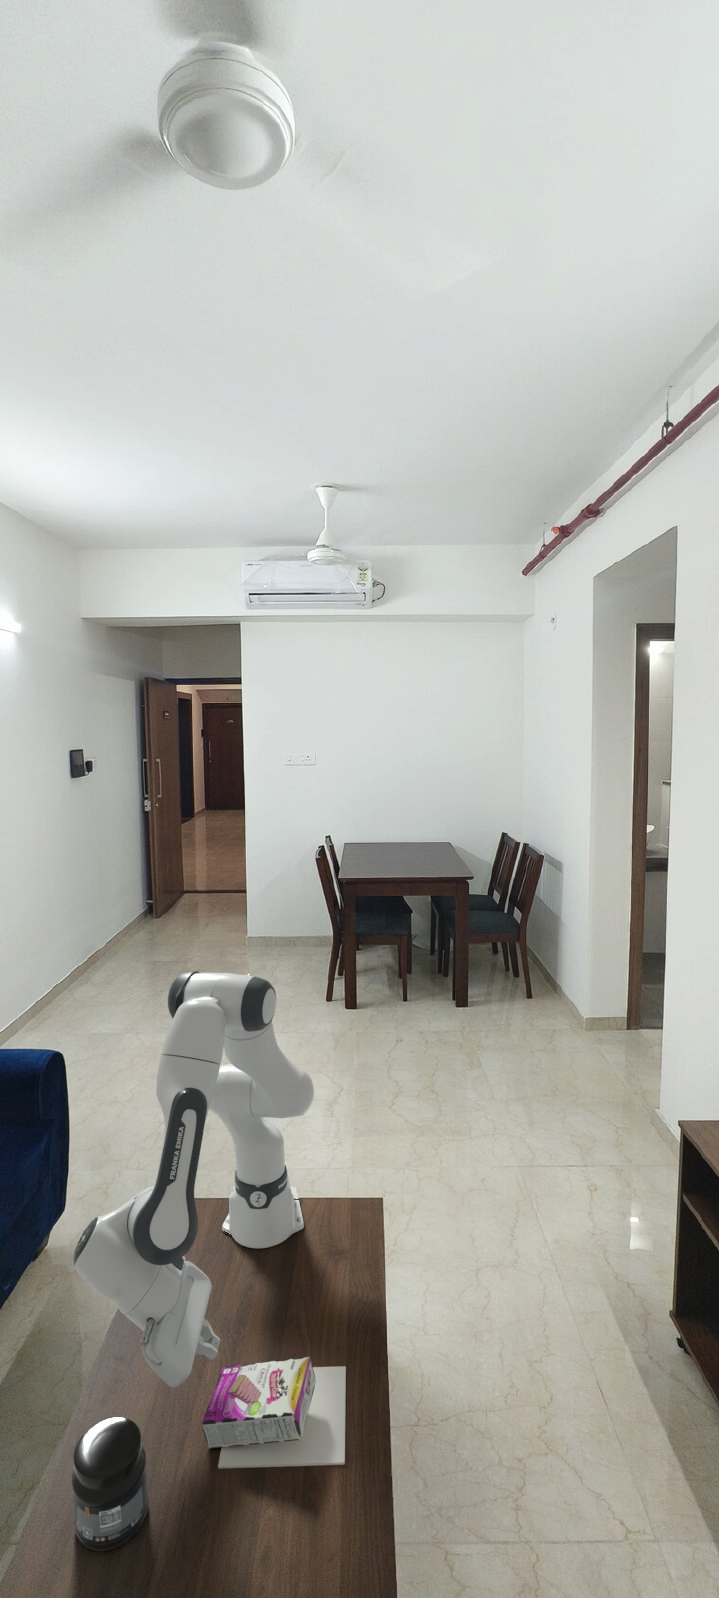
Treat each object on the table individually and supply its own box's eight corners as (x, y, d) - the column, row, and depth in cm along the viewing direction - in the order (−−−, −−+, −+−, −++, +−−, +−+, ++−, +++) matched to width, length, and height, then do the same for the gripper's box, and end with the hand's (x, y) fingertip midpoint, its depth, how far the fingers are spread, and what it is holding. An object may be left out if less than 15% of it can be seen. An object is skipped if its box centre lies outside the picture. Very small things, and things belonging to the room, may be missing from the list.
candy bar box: (221, 1364, 135) (310, 1354, 132) (229, 1390, 135) (317, 1380, 132) (199, 1423, 124) (295, 1414, 121) (207, 1451, 124) (303, 1442, 121)
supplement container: (119, 1469, 122) (114, 1400, 120) (164, 1507, 116) (159, 1435, 114) (59, 1527, 113) (54, 1454, 112) (104, 1572, 107) (99, 1495, 106)
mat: (235, 1371, 139) (235, 1369, 139) (345, 1368, 139) (345, 1366, 139) (218, 1468, 121) (218, 1466, 121) (344, 1464, 121) (344, 1462, 121)
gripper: (151, 1336, 117) (218, 1392, 118) (181, 1244, 138) (238, 1292, 139) (123, 1363, 118) (190, 1419, 119) (157, 1267, 138) (214, 1316, 139)
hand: (216, 1350), depth 129 cm, fingers closed
